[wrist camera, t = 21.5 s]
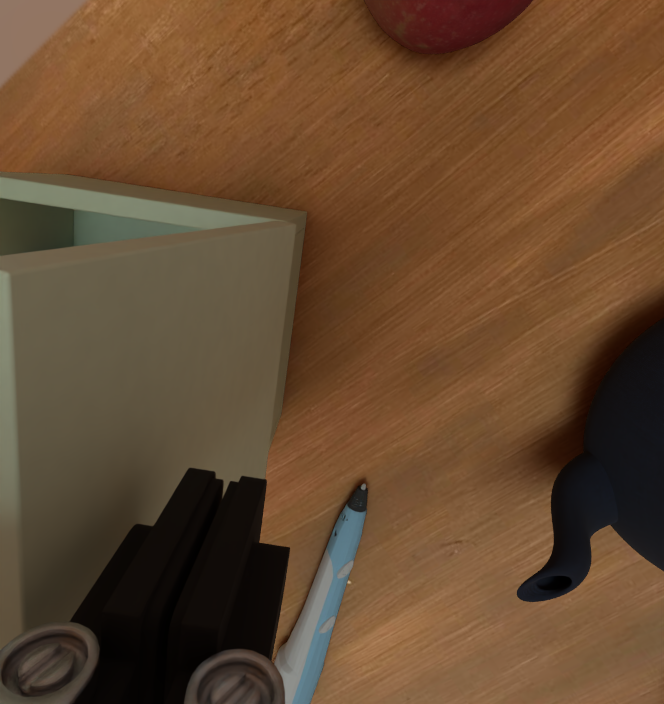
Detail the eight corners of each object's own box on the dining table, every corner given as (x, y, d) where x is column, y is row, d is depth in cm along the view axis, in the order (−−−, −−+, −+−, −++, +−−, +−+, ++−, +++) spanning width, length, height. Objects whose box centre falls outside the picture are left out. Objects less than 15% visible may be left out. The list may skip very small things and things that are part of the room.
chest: (68, 381, 30) (-26, 444, 23) (66, 174, 27) (-46, 169, 19) (281, 414, 30) (256, 488, 23) (307, 211, 27) (287, 221, 19)
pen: (303, 707, 37) (299, 749, 35) (260, 697, 37) (253, 737, 34) (386, 483, 31) (389, 511, 29) (335, 469, 31) (333, 496, 29)
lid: (-2, 862, 10) (35, 876, 10) (-50, 260, 6) (7, 271, 6) (245, 491, 23) (263, 496, 22) (276, 220, 19) (296, 223, 19)
